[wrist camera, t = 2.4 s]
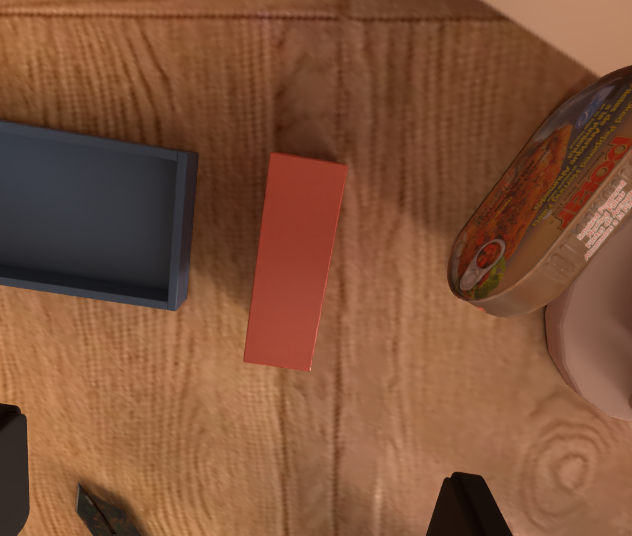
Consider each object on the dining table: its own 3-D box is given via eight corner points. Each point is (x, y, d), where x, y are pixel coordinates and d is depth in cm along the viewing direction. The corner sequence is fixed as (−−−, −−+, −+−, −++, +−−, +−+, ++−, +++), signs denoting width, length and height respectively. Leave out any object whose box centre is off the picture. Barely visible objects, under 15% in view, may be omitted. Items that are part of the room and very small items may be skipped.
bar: (256, 321, 29) (242, 362, 23) (279, 152, 26) (270, 151, 20) (310, 329, 29) (310, 372, 24) (340, 162, 26) (348, 165, 20)
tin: (577, 75, 25) (705, 38, 17) (614, 105, 25) (755, 83, 17) (429, 271, 28) (476, 319, 20) (464, 294, 29) (524, 349, 21)
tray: (-40, 264, 28) (-71, 274, 26) (-52, 110, 25) (-89, 105, 23) (186, 298, 29) (175, 311, 26) (199, 152, 26) (187, 152, 24)
